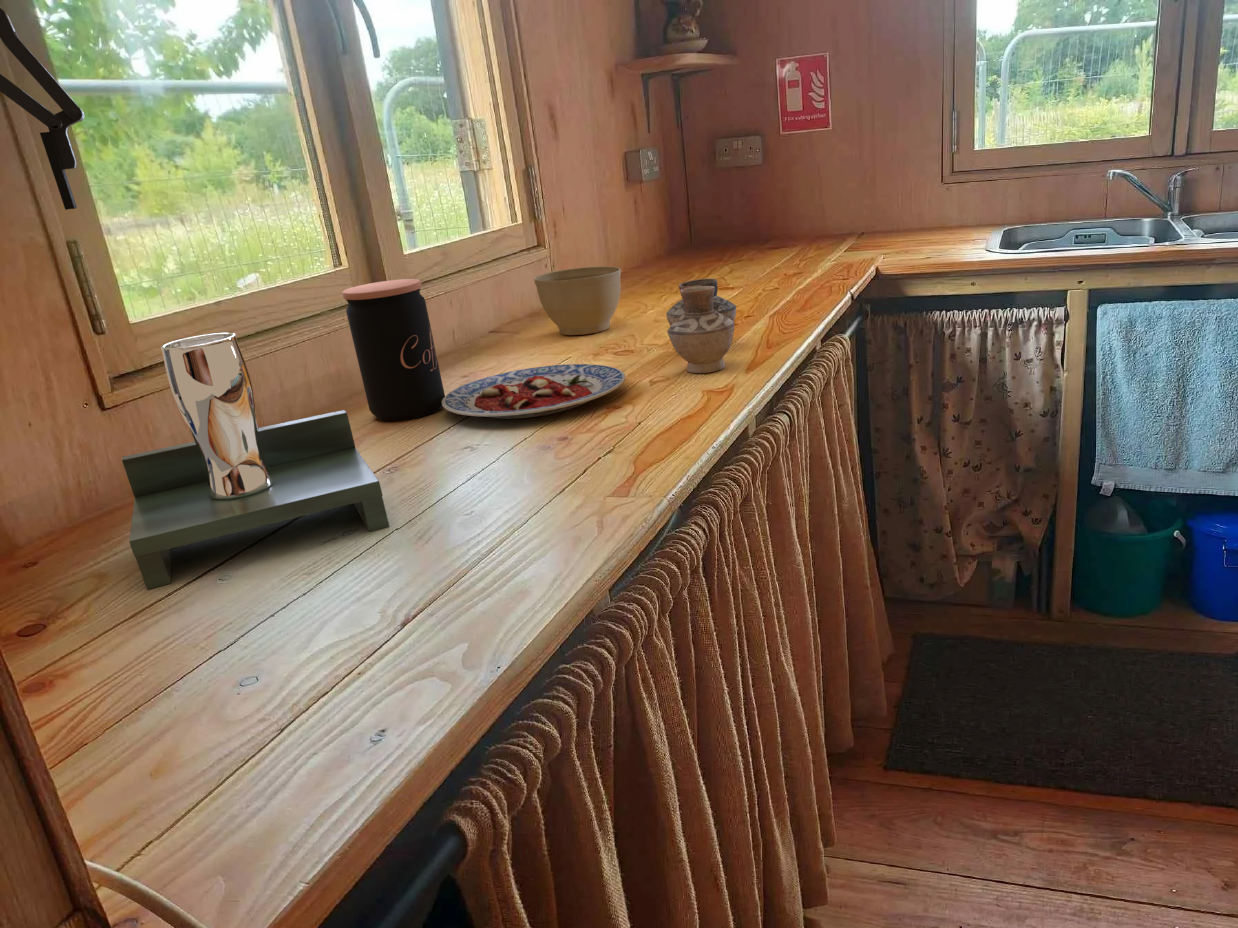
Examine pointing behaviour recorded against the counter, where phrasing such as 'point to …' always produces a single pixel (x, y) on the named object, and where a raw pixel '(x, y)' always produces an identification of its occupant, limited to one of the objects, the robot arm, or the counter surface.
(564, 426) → the counter surface
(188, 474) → the shelf
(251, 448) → the beer glass
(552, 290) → the planter bowl
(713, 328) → the pottery
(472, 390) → the ceramic plate
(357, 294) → the coffee jar
